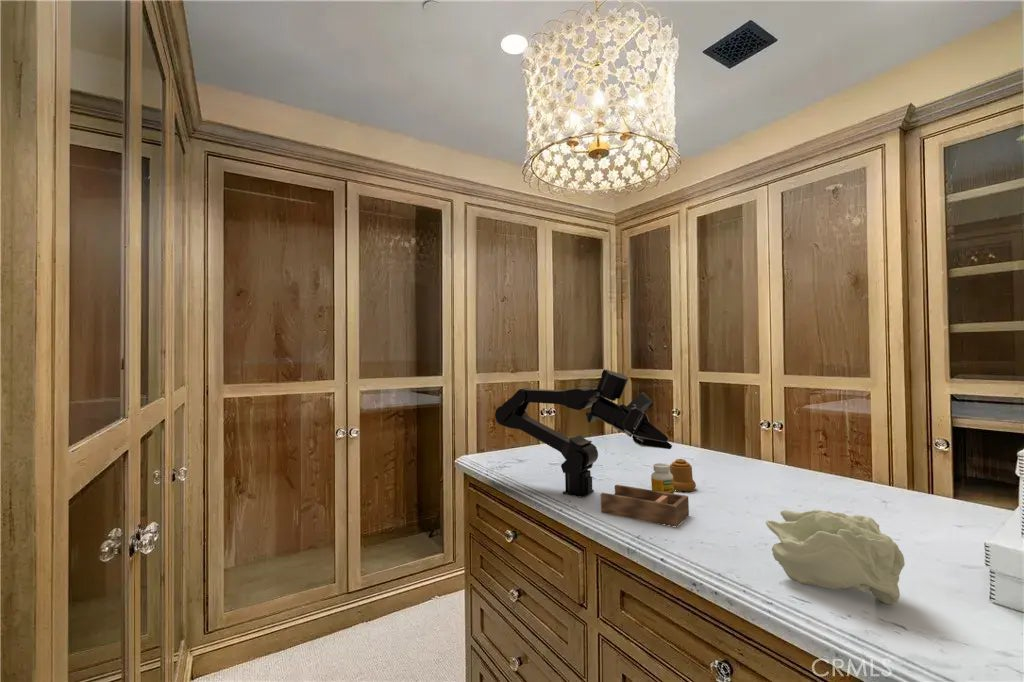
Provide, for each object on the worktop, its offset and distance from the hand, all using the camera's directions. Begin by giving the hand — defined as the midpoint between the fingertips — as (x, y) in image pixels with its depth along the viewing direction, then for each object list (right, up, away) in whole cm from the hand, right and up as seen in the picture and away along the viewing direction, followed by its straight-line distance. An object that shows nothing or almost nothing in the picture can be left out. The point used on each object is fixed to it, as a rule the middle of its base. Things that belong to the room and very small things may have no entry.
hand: (669, 443), depth 117 cm
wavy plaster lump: (+13, -15, -39) cm, 44 cm away
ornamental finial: (+9, -16, +16) cm, 24 cm away
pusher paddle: (-4, -15, -6) cm, 16 cm away
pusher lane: (-7, -16, -4) cm, 18 cm away
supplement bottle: (0, -16, +4) cm, 16 cm away
